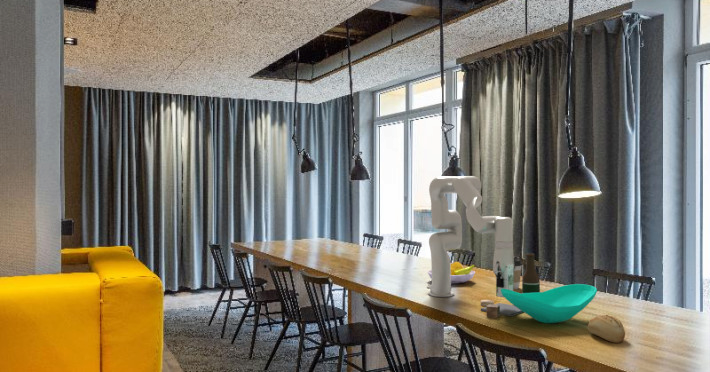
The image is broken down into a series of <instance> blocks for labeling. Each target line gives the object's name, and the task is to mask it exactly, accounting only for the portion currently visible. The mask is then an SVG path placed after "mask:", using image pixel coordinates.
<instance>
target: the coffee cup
mask: <svg viewBox="0 0 710 372" xmlns="http://www.w3.org/2000/svg"><path fill="white" fill-rule="evenodd" d="M514 265H515V269H514V272H513V279H514V280H513V283H514V290H518V289H519V288H520V283H521V275H522V274H521V273H522V266H523V263H522V261H521V259H520V258H514Z"/></svg>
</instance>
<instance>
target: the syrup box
mask: <svg viewBox="0 0 710 372" xmlns="http://www.w3.org/2000/svg"><path fill="white" fill-rule="evenodd" d="M499 271H501V270H499ZM500 275H501V273H500ZM503 278H504V287H503V288H501V287H497V278H496V277H495V285H496V287H495V290H496V291H495V293H496V295H495V296H496V297H498V298H505V297H504V296H503V295H502V293H501V289H508V290H512V291H514V290H515V289H514V283H513V280H514V279H513V264H508V265H506V269H505V272H504V274H503Z"/></svg>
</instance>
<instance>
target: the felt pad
mask: <svg viewBox="0 0 710 372" xmlns="http://www.w3.org/2000/svg"><path fill="white" fill-rule="evenodd" d="M494 305H500V316H507V317H513V316H516V315H519V314H522V313H524V312H523V311H522V310H520V309H519V308H517V307H516V306H514V305H513V304H507V303H501V302H499V303H494ZM480 311H481V312H486V306H483V307H481V308H480ZM486 313H487V312H486Z"/></svg>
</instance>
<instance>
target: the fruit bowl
mask: <svg viewBox="0 0 710 372" xmlns="http://www.w3.org/2000/svg"><path fill="white" fill-rule="evenodd" d="M450 264H451V285H453V284H454V285H456V284H457V285H458V284H464V283H466V282H468V281H470V280H472V279H473V277H474V275H475V273H476V271H475V270H473V269H474V267H475V265H474V264H472V265H471V266H467V267H464V266H463V264H462V263H460V262H459V261H454V262H453V263H450ZM427 274H428V276H429V278H430V279H432V269H430V270H427Z"/></svg>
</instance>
